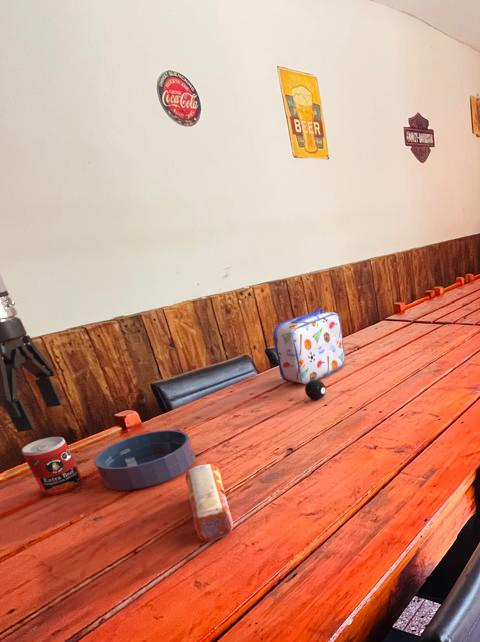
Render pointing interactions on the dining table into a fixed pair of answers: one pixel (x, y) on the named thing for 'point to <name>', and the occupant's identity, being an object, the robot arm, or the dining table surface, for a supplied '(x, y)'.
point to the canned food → (52, 465)
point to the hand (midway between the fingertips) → (41, 417)
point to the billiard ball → (315, 389)
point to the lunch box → (309, 346)
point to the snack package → (208, 502)
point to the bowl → (145, 459)
